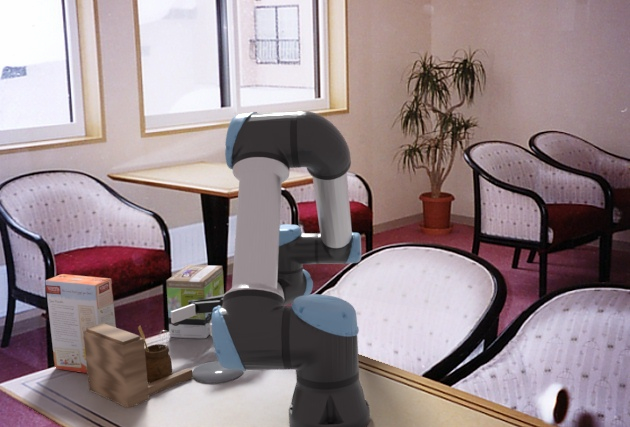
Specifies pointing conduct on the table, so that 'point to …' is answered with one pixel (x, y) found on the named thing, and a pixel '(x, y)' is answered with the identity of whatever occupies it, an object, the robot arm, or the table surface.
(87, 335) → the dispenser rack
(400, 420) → the table surface
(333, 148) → the robot arm
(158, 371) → the utensil holder
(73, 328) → the cracker box
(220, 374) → the plate
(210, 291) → the tea box
